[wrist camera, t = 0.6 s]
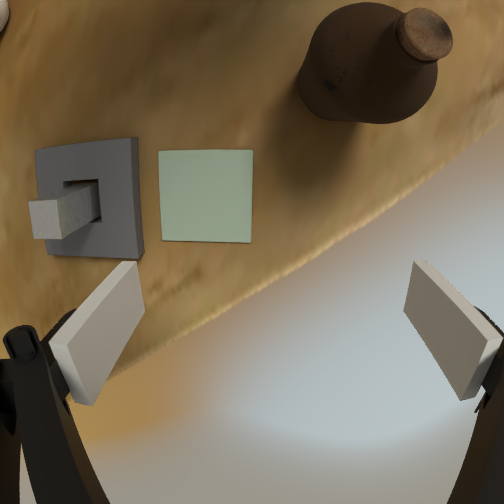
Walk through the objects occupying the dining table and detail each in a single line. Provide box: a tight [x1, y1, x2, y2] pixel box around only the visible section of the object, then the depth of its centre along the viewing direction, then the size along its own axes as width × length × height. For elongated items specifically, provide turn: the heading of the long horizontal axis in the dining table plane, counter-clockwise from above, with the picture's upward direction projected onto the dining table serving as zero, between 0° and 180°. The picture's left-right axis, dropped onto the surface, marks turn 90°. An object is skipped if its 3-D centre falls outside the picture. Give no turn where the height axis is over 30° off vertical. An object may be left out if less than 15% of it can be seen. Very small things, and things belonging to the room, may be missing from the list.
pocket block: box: [35, 137, 145, 259], centre depth 40 cm, size 16×16×2 cm
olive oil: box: [298, 2, 453, 124], centre depth 24 cm, size 11×11×25 cm
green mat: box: [158, 150, 253, 243], centre depth 41 cm, size 12×12×1 cm
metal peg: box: [28, 182, 101, 239], centre depth 36 cm, size 4×4×12 cm
